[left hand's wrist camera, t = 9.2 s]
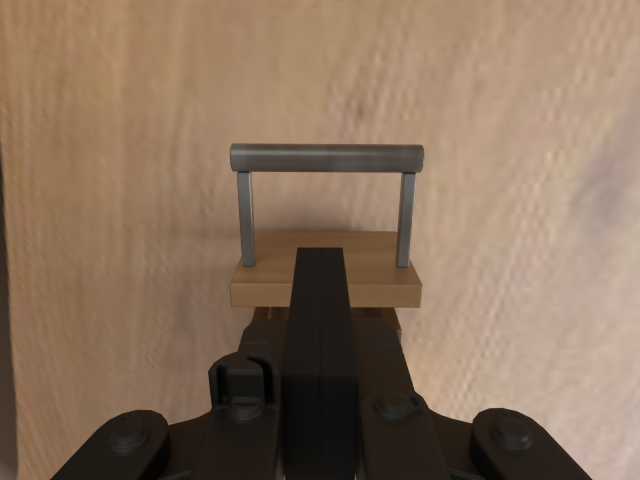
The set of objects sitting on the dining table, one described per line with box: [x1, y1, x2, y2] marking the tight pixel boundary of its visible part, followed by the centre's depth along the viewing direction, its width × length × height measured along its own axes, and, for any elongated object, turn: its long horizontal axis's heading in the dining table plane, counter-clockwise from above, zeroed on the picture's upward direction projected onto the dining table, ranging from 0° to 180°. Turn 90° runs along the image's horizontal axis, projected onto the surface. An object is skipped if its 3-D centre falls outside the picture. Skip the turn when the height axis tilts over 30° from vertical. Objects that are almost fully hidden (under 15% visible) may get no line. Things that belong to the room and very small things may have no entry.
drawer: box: [230, 143, 424, 343], centre depth 25 cm, size 22×9×7 cm, turn 0°
